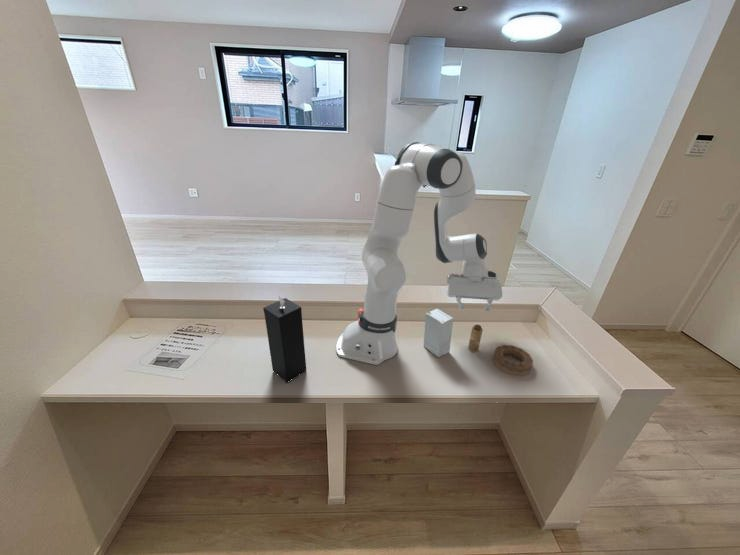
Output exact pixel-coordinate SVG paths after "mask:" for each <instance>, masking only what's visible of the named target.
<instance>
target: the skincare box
mask: <svg viewBox="0 0 740 555" xmlns="http://www.w3.org/2000/svg"><path fill="white" fill-rule="evenodd" d="M424 322H425V323H424V336H423V347H424V348H425V349H427V350H428V351H429V352H430V353H432V354H433V355H435V356H436V357H437V358H440V357H442V356H444V355H447V354H449V352H450V350H451V342H452V334H453V324H454V317H453V316H451V315H449V314H447V313H445V312H444V311H442V310H440V309H439V308H435V309H433V310H431V311H428V312H426V313H425V321H424Z"/></svg>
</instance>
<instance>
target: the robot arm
mask: <svg viewBox="0 0 740 555" xmlns="http://www.w3.org/2000/svg"><path fill="white" fill-rule="evenodd" d="M472 171H473V170H472V168H471V165H470V162H469V160H468V158H467V156H466V155H465V154H464V153H463V152H458V151H453V150H452V149H449V148H444V147H441V146H438V145H436V144H432V143H425V142H424V143H423V142H418V141H416V142H410V143H407V144H406V145H404V146H403V147H402V148H401V149H400V151H399V152H398V154H397V158H396V160H395V163H394V165H393V166H390V167H388V169H387V170H386V172H385V175H384V177H383V179H382V182H381V185H380V189H379V192H378V195H377V200H376V203H375V204H376V205H375V211H374V214H373V220H372V224H371V227H370V231H369V234H368V237H367V239H366V240H365V241H366V242H365V244H364V245H363V247H362V252H361V261H362V264H363V266H364V269H365V271H366V275H367V276H366V277H367V286H366V291H365V292H364V295H363V296H364V297H363V298H364V299H363V305H364V306H363V308H361V307H360V308H359V309H358V312H357V314H358V316H357V320H356V321H353V322H351V323H349V324H348V325H347V326H346V328H345V330H344V332H342V333H341V334H340V336H339V337H338V339H337V341H336V346H335V351H336V354H338V355H337V356H338V357H340V358H344V359H348V360H353V361H357V362H362V363H367V364H371V365H375V366H379V365H380V364H382V362H384V361H387V360H389V359H392V358H393V357H394V356H395V355H396V354H397V353H398V350H399V346H398V344H397V339H396V338H397V337H396V329H397V324H398V316H397V305H398V304H397V301H398V296H399V293H400V290H401V289H402V287H404V285H405V283H406V278H407V274H406V270H405V266H404V264H403V262H402V261H401V259H400V258H399V256H398V249H399V247H400V245H401V242H402V241H403V239H404V238H405V237H406V236H407V234H408V232H409V229H410V224H411V222H412V217H413V212H414V208H415V204H416V199H417V194H418V192H419V190H420V188H421V187H422V186H427V187H432V188H434V189H438V191H439V195H440V196H439V201H438V202H436V203H435V206H434V209H433V210H434V211H433V225H434V226H433V227H434V239H435V248H434V252H435V257H436V259H437V260H438V261H439V262H440V263H443V264H447V263H448V264H450V263H453V262H462V266H461V273H456V274H455V273H451V274H448V275H447V276H446V284H447V289H446V295H447V296H448V297H449V298H455V299H456V302H457V304H458V307H459V310H465V303H462V301H461V300H462V299H472V300H473V299H474V300H484V301H487V302H486V303H487V305H485V306H484V311H485V312H489V311H491V305H492V304H493V302H494V301H499V300H500V299H502V298H503V288H502V283H501V281H500V279H499V278H500V274H499V273H498V272H495V271H492V270H490V269H488V268H486V263H485V261H486V257H487V255H488V251H487V248H488V247H487V246H488V243H487V239H486V238H485V237H483V236H482V235H481V234H479V233H470V234H469V233H468V234H464V235H454V236H453V235H452V236H450V235H447V223H448V222H449V221H450V220H452V219H453V218H455V217H457V216H459V215H461V214H464V213H465V212H466V211H468V210H469V209H470V208H471V207H472V206H473V204H474V202H475V200H476V196H477V195H476V184H475V179H474V174H473V172H472Z"/></svg>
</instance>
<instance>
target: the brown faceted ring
mask: <svg viewBox="0 0 740 555" xmlns="http://www.w3.org/2000/svg"><path fill="white" fill-rule="evenodd" d="M505 357H511V358H514V359H516V360H518V361H519V363H518V362H513V361H511V360H508V359H507V358H505ZM492 360H493V363H494V366H496V367H498V368H499V369H500V370H501V371H502V372H504V373H507V374H509V375H513V376H525V375H527V374H529V373H530V371H531V368H532V367H533V362H534V360H533V358H532V357H531V355H530V354H529V353H528V352H527V351H526V350H524V349H523V348H521V347H518V346H515V345H511V344H502V345H499V346H497V347H495V350H494V352H493V356H492Z"/></svg>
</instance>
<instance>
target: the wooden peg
mask: <svg viewBox="0 0 740 555" xmlns="http://www.w3.org/2000/svg"><path fill="white" fill-rule="evenodd" d="M483 331H484V329H483V328H482V326H481V324H474V325H473V326H471V331H470V336H469V342H468V347H467V348H468V350H469V351H470V352H472V353H477V352H479V348H480V344H481V340H482V334H483Z"/></svg>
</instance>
